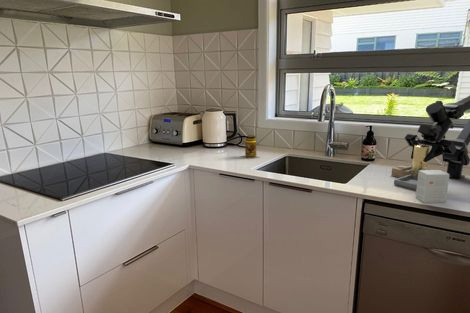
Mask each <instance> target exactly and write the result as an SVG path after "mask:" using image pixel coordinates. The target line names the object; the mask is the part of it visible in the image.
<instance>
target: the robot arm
mask: <svg viewBox="0 0 470 313" xmlns="http://www.w3.org/2000/svg"><path fill="white" fill-rule="evenodd" d="M468 110H470V95H469V96H466V97H463V98H462V99H461V100H458V101H457V102H450V103H449V102H448V103H445V104H444V102H443V101H442V100H436V101H435V102H432V103H430V104H429V105H427V106H426V108H425V113H426V114H427V115H428V118H429V119H430V121H431V122H432V123H433V124H432V125H430V124H423V123H420V125H419V127H418V129H417V133H420V134H421V135H420V136H421V138H419V137H418V135H417V134H412V133H407V134H406V135H405V136H404V140H405V141H406V143H407V145H408V146H409V147H412V151H411V154H410V159H411V160H413V153H414V145H426V146H429V147H431V148H430V149H429V153H428V155H427V156H426V158H425V159H424V162H427V161H428V162H429V161H431V160H433V159H435V158H437V157H439V156H442V162H445V163H447V166H446V171H445V172H446V173H448V174H450V175H449V179H450V178H451V179H455V180H461V179H462V178H465V177H466V176H465V175H464V174H463V170H464V169H463V168H464V166H468V165H469V164H470V157H469V149H468V146H469V144H470V118H469V119H468V121H467V122H466V124H465V126H464V127H463V128H462V129H461V131H460V133H459V134H458V135H457V137H456V139H455V140H452V139H446V138H447V137H446V134H447V132H448V130H450V129H451V130H453V129H454V124H453V121H452V120H460V119H461V118H462V117H463V116H465V112H466V111H468ZM428 162H427V163H428Z"/></svg>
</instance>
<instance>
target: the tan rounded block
mask: <svg viewBox="0 0 470 313" xmlns="http://www.w3.org/2000/svg"><path fill="white" fill-rule="evenodd" d="M411 171H412V165H408V166H405V165H398V166H397V165H396V166H394V167H391V173H390V174H391V176H393V177H396V178H401V177H404V176H407V175H410V174H411Z"/></svg>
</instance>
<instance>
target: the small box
mask: <svg viewBox="0 0 470 313" xmlns="http://www.w3.org/2000/svg"><path fill="white" fill-rule="evenodd" d="M449 175H450V174H448V173H446V171H443V170H441V169H427V170H419V173H418V181H417V190H415V198H416V199H417V200H419V201H420V202H422V203H424V204H430V203H432V204H433V203H446V202H447V196H448V189H449V188H448V187H449V182H450V177H449Z"/></svg>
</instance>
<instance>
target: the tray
mask: <svg viewBox="0 0 470 313" xmlns="http://www.w3.org/2000/svg"><path fill="white" fill-rule="evenodd" d="M417 181H418V177H415V176H412V175H411V174H410V175H407V176H404V177H401V178H400V177H396V178H395V179H394V181H393V185H394V186H397V187H401V188H405V189H409V190H413V191H416V190H417Z"/></svg>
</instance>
